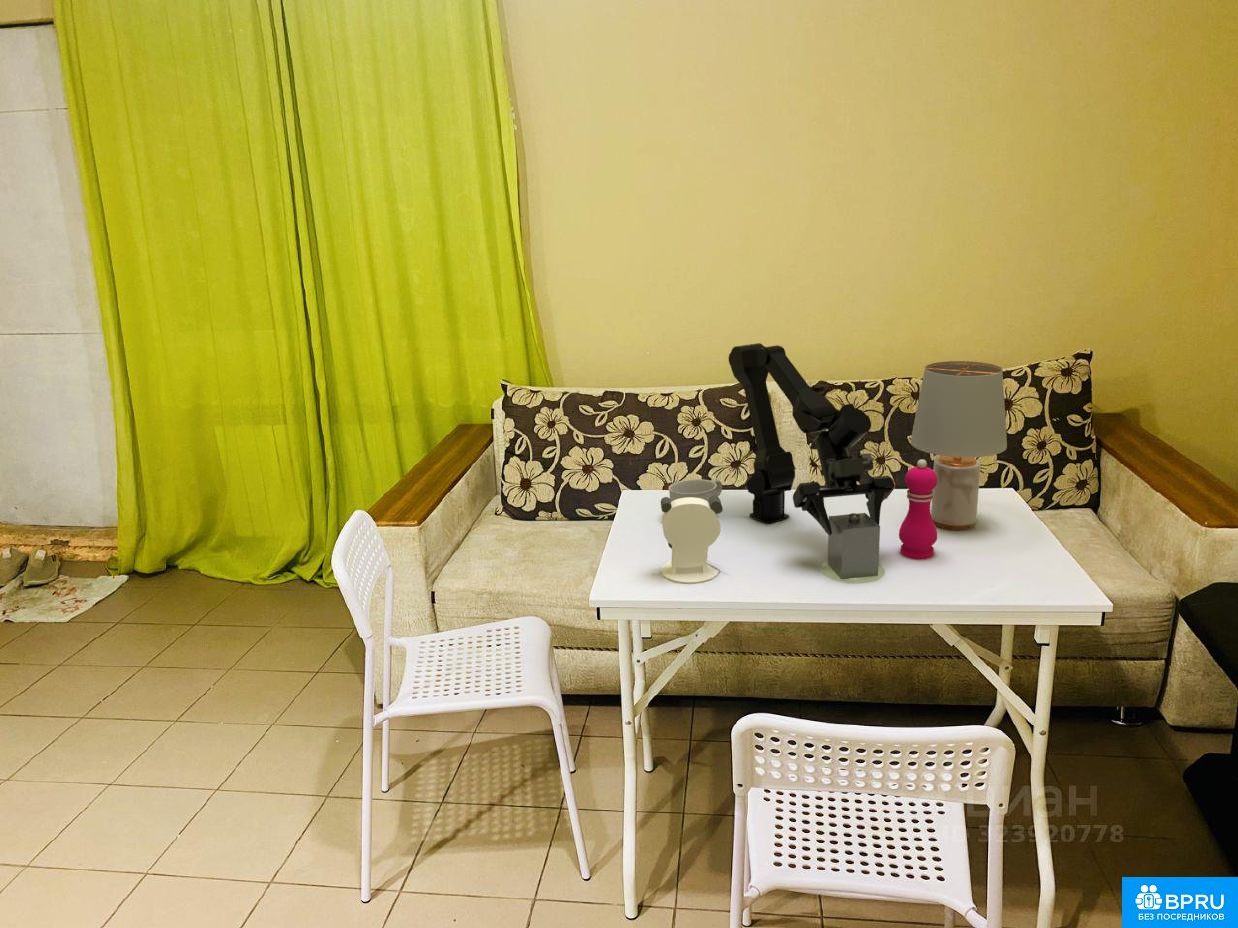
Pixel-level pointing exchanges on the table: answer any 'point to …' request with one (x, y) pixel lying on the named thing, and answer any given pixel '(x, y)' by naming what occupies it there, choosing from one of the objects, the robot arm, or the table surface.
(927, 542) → the pepper mill
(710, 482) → the teacup
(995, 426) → the lamp
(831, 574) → the plate
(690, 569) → the panda figurine
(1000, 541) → the table surface
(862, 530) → the cover
